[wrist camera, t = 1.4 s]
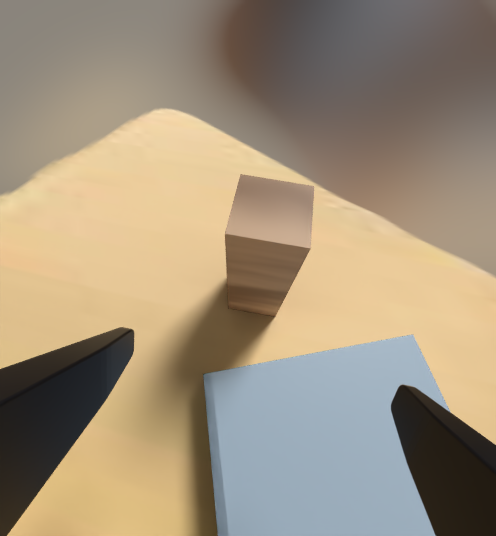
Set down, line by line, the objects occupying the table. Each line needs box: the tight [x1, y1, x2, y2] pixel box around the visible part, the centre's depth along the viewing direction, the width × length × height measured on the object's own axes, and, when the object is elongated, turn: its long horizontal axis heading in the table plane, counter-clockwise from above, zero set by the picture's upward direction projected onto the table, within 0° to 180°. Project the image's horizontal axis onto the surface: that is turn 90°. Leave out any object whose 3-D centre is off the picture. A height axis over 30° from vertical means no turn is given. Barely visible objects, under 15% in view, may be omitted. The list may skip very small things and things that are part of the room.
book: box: [203, 335, 451, 536], centre depth 18 cm, size 17×12×3 cm
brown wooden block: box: [225, 174, 314, 316], centre depth 19 cm, size 4×4×12 cm
